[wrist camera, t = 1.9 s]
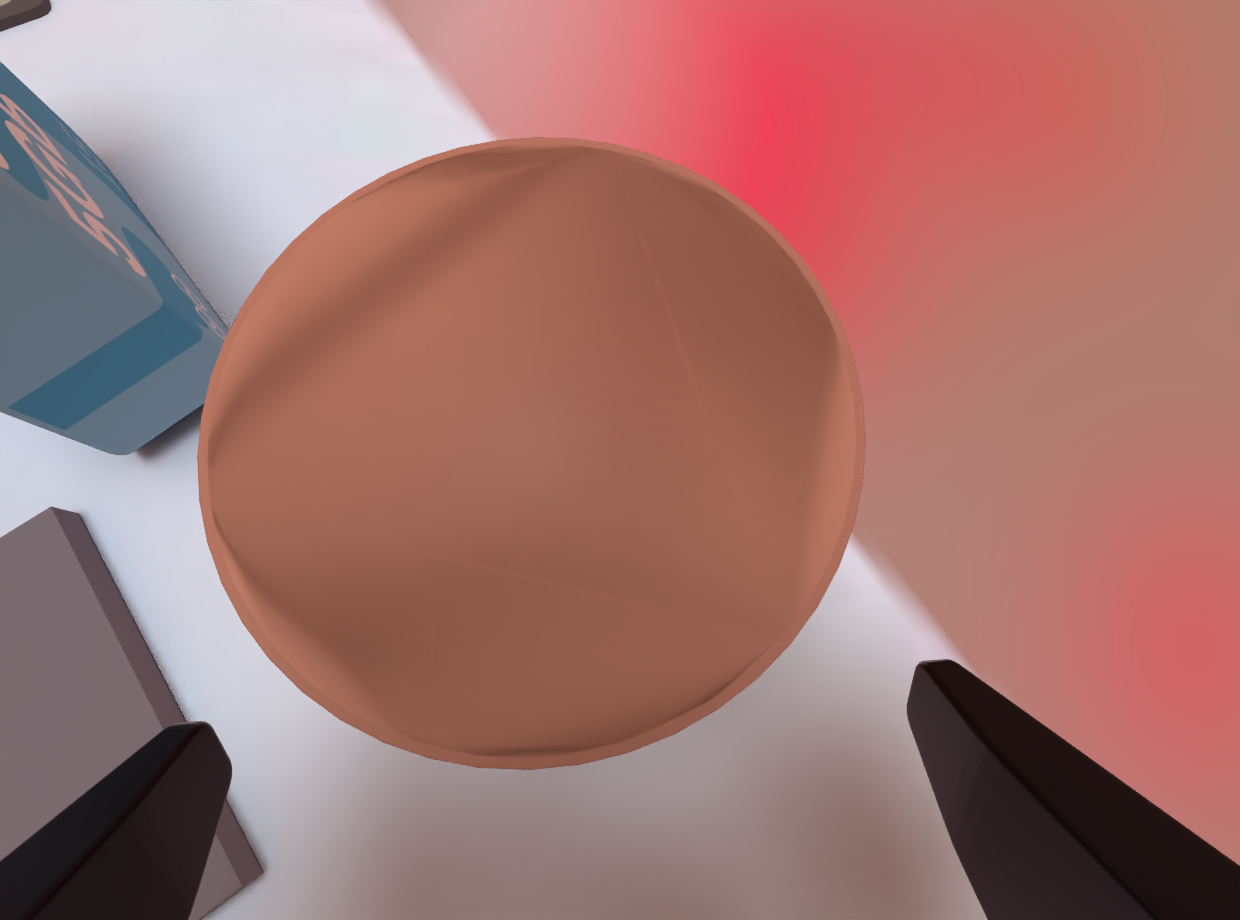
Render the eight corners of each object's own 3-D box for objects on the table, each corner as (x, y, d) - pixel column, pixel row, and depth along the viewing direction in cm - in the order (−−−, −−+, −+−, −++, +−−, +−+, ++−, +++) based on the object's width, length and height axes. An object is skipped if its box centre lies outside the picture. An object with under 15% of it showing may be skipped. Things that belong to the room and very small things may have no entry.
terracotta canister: (786, 591, 15) (1007, 514, 7) (526, 761, 14) (375, 938, 5) (629, 358, 17) (638, 52, 8) (386, 495, 16) (103, 311, 7)
